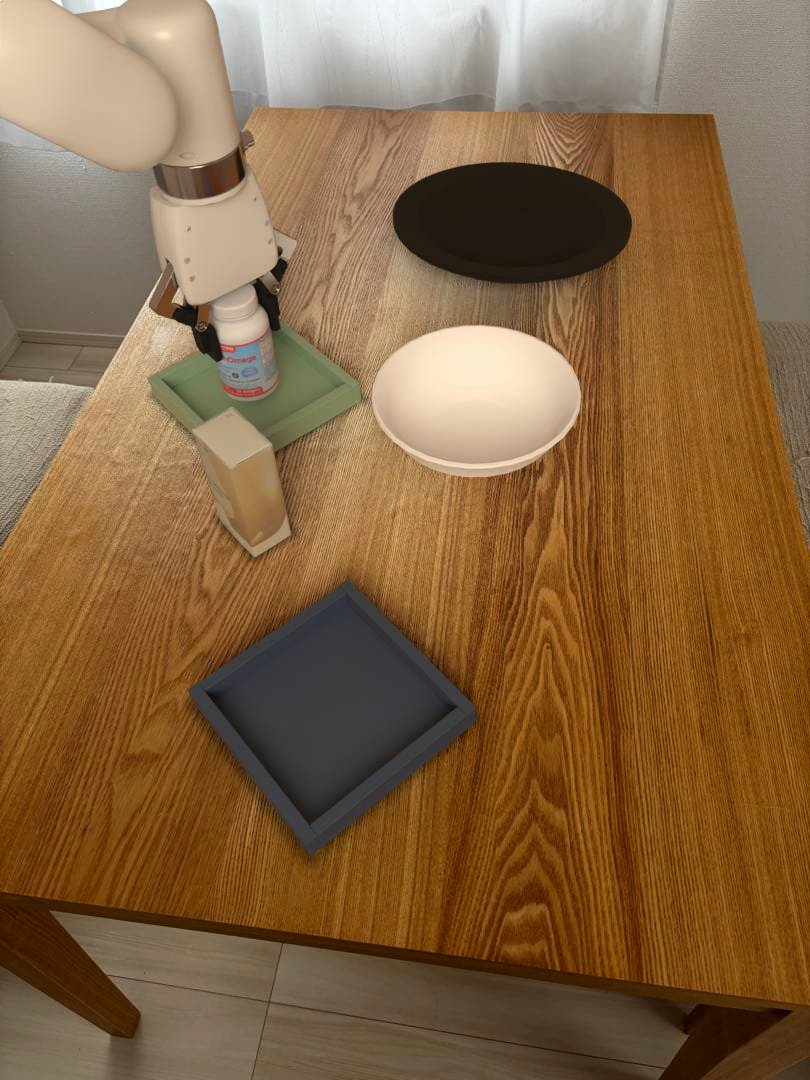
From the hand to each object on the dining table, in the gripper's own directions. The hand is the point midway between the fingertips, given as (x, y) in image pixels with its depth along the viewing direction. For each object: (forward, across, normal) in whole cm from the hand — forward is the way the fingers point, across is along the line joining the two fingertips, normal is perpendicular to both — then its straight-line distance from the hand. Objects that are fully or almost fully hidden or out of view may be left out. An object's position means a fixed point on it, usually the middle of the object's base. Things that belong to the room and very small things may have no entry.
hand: (241, 337), depth 86 cm
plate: (+8, -37, 0) cm, 38 cm away
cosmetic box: (+8, +10, +15) cm, 20 cm away
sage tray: (+8, 0, 0) cm, 8 cm away
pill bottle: (+6, 0, 0) cm, 6 cm away
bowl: (+8, -13, +20) cm, 25 cm away
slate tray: (+8, +16, +35) cm, 39 cm away
